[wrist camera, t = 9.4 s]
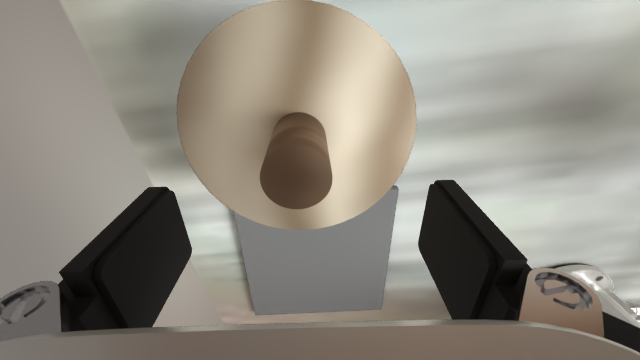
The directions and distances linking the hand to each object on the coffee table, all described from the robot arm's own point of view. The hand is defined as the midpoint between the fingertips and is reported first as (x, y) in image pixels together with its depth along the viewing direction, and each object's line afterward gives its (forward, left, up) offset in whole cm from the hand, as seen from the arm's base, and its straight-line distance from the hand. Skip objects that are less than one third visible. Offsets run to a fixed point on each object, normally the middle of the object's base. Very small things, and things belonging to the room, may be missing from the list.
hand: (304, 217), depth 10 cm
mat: (-1, +17, -15) cm, 22 cm away
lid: (0, 0, -9) cm, 9 cm away
